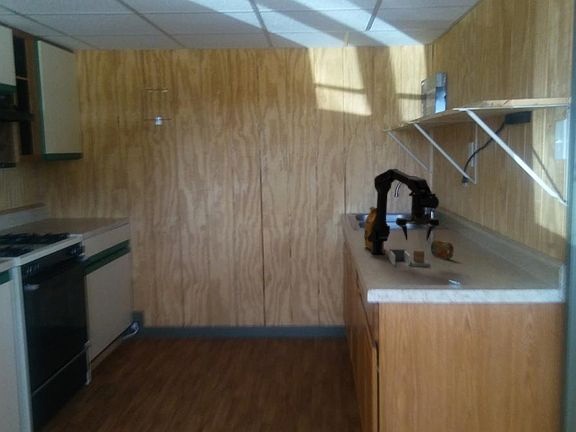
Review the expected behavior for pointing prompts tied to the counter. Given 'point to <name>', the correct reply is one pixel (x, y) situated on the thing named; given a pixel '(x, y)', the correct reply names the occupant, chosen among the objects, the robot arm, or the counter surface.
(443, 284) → the counter surface
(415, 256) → the block
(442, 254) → the tin
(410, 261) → the tile
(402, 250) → the grey open rectangular frame
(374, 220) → the coffee package
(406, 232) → the robot arm
